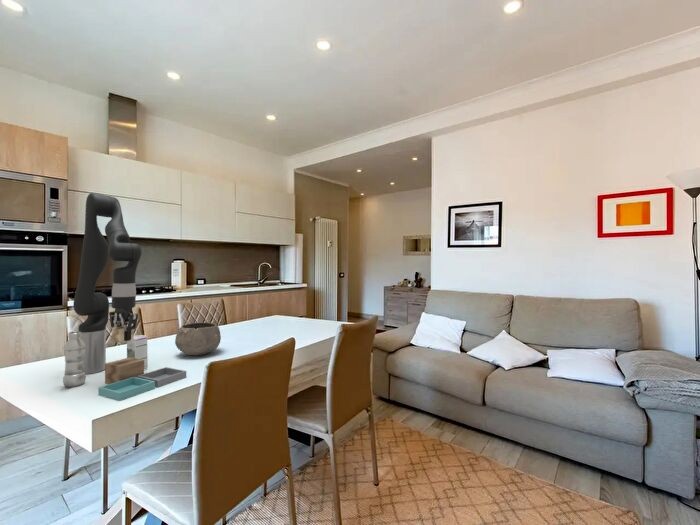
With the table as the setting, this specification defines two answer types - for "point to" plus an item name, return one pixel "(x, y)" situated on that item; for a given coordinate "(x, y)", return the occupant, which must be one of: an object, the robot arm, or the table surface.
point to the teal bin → (126, 388)
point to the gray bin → (164, 376)
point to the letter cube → (120, 334)
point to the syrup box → (138, 349)
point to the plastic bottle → (74, 360)
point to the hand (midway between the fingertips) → (122, 339)
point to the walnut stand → (123, 369)
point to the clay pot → (198, 338)
